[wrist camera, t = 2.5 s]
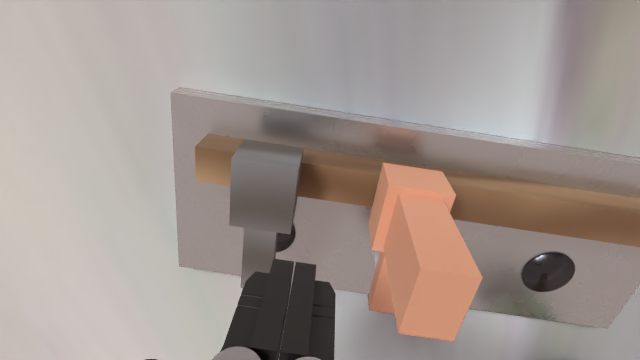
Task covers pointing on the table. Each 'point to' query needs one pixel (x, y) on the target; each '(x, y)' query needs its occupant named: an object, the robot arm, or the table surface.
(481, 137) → the hole plate
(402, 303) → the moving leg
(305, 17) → the table surface
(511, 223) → the beam
